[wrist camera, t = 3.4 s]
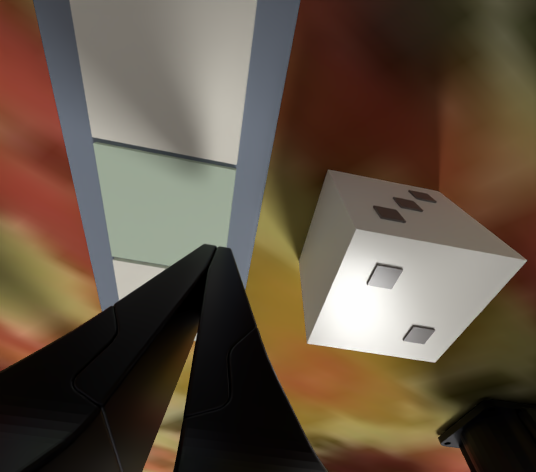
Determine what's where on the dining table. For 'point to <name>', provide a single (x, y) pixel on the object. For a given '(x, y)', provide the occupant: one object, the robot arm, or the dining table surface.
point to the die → (396, 268)
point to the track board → (166, 124)
